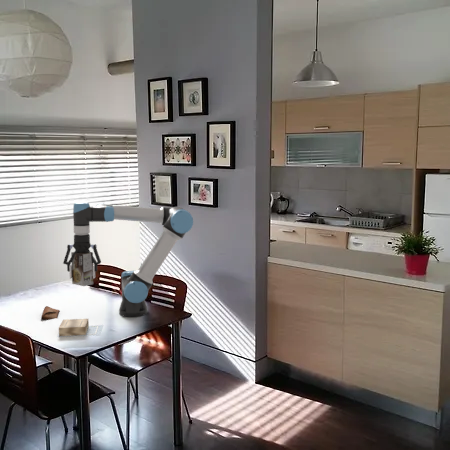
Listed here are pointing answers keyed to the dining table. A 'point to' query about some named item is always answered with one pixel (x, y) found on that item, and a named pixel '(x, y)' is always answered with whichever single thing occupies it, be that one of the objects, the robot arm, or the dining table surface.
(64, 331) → the oak plinth
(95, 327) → the board
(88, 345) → the dining table surface
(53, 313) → the sunglasses case
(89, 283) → the coffee box
